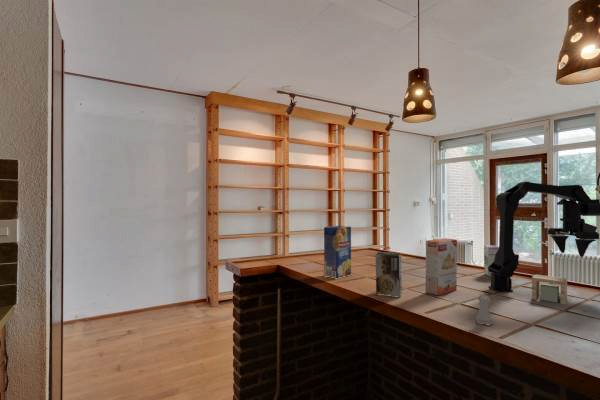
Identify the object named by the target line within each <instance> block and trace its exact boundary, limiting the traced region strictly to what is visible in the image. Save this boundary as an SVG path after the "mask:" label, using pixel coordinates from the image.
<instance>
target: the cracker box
mask: <svg viewBox="0 0 600 400" xmlns="http://www.w3.org/2000/svg"><path fill="white" fill-rule="evenodd" d="M457 263H458V240H457V239H455V238H439V239H438V238H436V239H429V240H426V241H425V293H427V294H430V295H433V294H434V296H442V295H444V294H448V293H451V292H455V291H457V289H458V288H457V286H458V285H457V282H458V281H457V279H458V278H457V272H458V271H457V269H458V268H457V267H458V266H457V265H458V264H457Z"/></svg>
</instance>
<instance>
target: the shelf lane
mask: <svg viewBox="0 0 600 400" xmlns="http://www.w3.org/2000/svg"><path fill="white" fill-rule="evenodd" d="M541 282H542V283H543V282H544V283H549V282H550V283H557V285H560V305H566V304H567V301H568V280H567V278H566V277H558V276H551V275H542V274H534V275H532V277H531V285H532V286H531V297H532V298H531V299H532V300H536V301H537V300H538V298H539V297H540V285H541V284H540V283H541Z"/></svg>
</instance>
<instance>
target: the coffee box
mask: <svg viewBox="0 0 600 400" xmlns="http://www.w3.org/2000/svg"><path fill="white" fill-rule="evenodd" d="M375 284H376V285H375V290H376V291H375V295H376V294H384V295H391V296H398V297H400V298H401V297H402V295H401V294H403V293H402V289H403V288H402V285H403V283H402V253H401V252H389V251H387V252H386V251H384V252H383V251H378V252H377V253H376V254H375Z"/></svg>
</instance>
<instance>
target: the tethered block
mask: <svg viewBox="0 0 600 400" xmlns="http://www.w3.org/2000/svg"><path fill="white" fill-rule="evenodd" d="M539 300H541V301H546V302H547V301H549V302H554V303H558V302H559V300H560V285H559V284H557V283H550V282H548V283H543V282H542V283H541V284H540V295H539Z"/></svg>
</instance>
